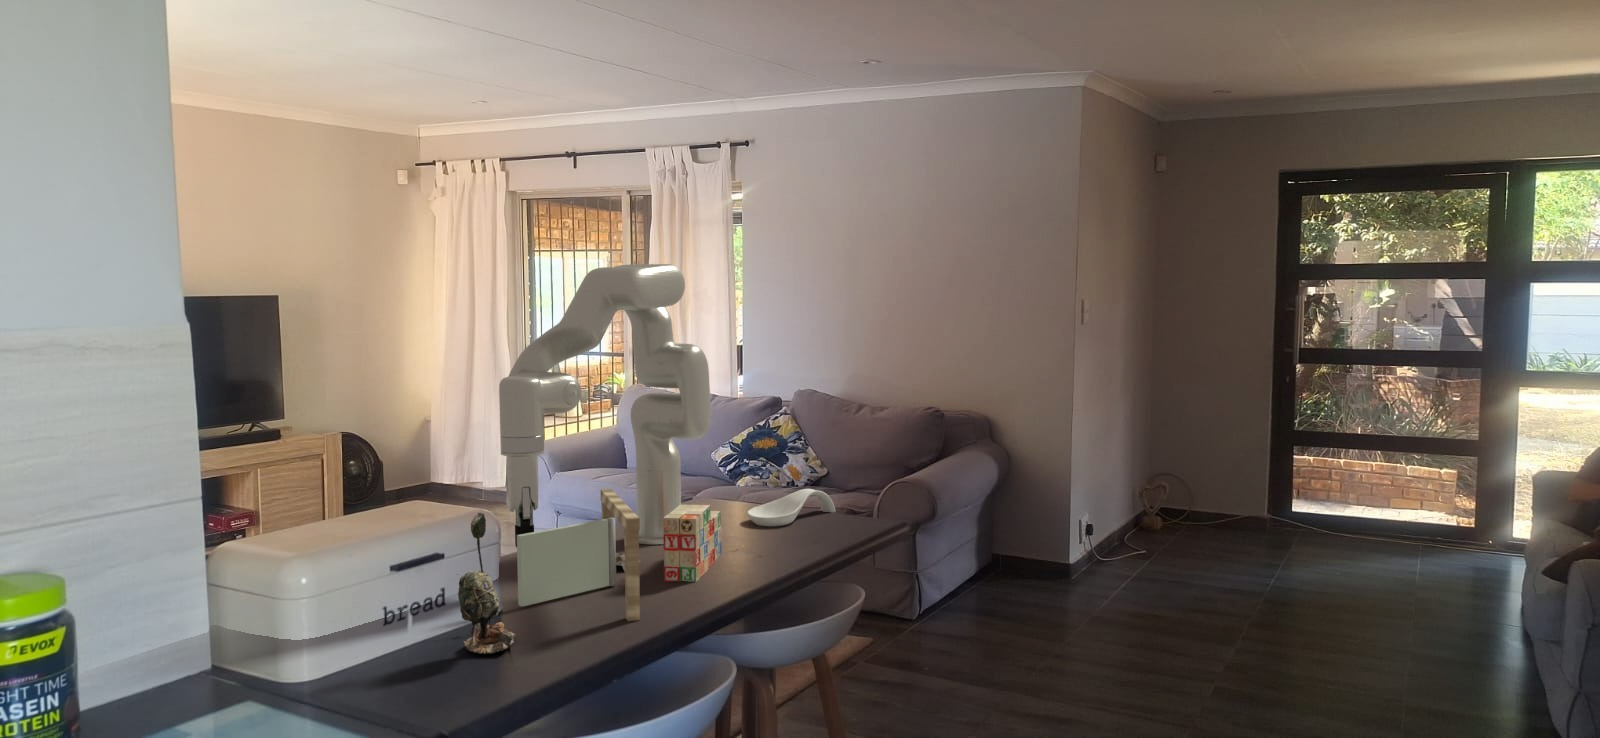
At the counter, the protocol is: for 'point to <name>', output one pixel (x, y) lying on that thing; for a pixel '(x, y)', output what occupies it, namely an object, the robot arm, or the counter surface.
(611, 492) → the door frame
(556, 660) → the counter surface
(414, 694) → the counter surface
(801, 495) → the spoon rest
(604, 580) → the door
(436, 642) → the counter surface
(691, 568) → the stack of blocks
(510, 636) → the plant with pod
